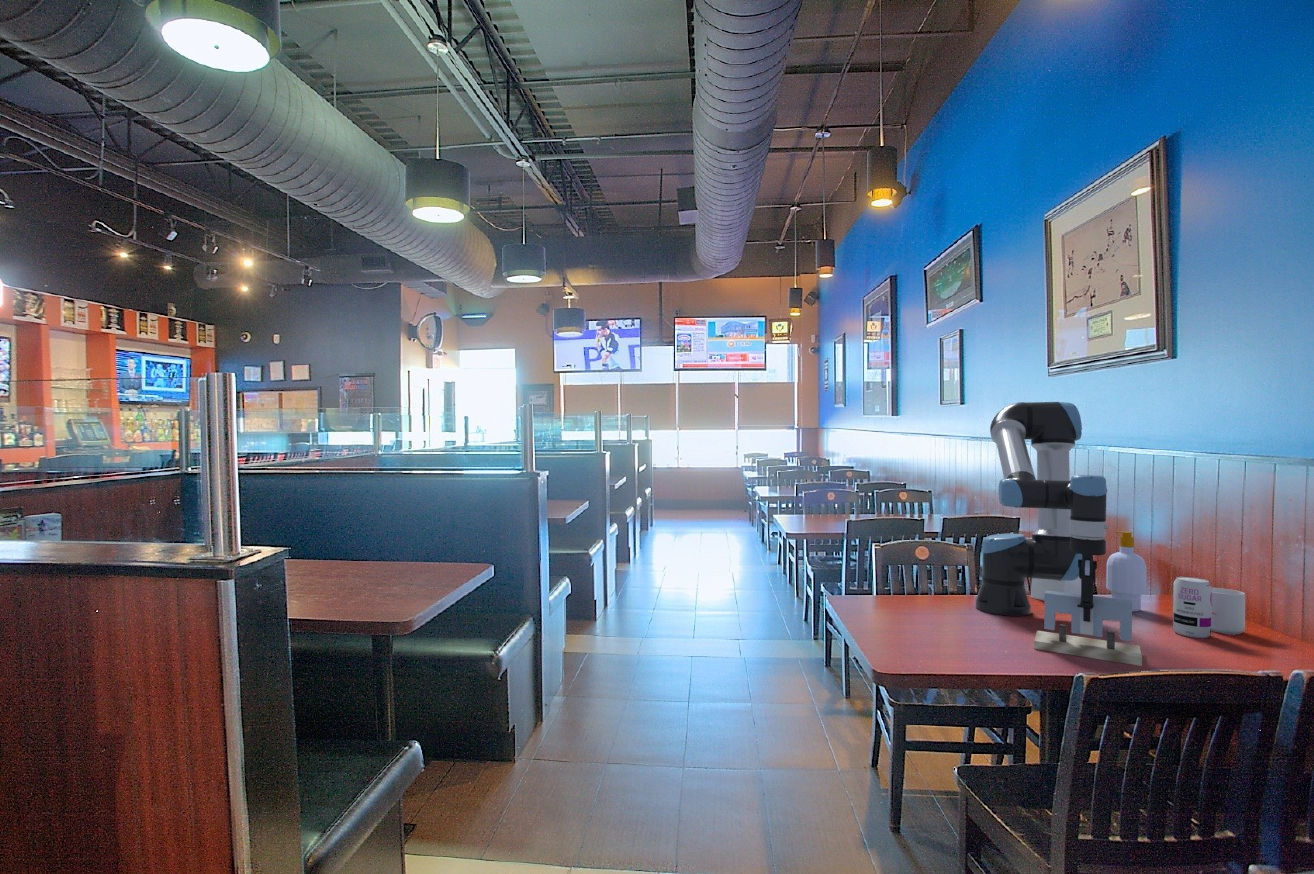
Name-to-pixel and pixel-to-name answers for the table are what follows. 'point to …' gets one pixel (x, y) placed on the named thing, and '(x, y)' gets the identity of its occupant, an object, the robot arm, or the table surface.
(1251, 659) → the table surface
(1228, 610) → the mug
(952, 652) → the table surface
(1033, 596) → the milk
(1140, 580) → the soap bottle
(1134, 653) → the pegged base plate
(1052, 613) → the notched panel
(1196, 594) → the supplement can
